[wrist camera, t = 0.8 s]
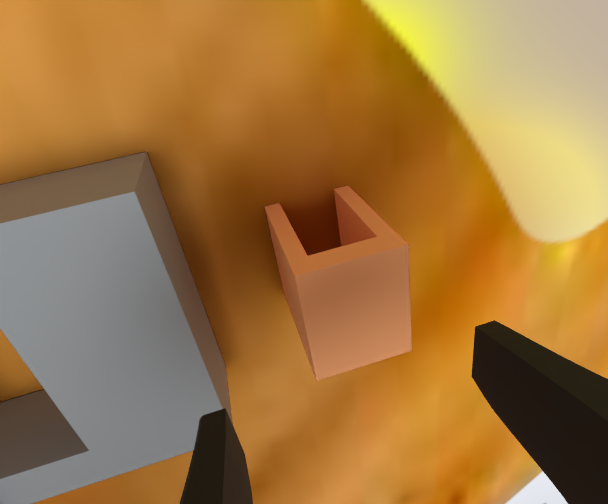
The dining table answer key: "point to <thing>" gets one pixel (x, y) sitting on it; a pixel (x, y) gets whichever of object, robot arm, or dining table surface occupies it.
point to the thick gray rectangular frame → (99, 330)
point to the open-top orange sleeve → (346, 288)
